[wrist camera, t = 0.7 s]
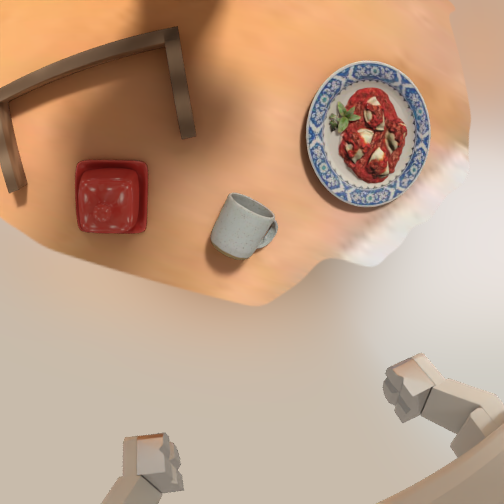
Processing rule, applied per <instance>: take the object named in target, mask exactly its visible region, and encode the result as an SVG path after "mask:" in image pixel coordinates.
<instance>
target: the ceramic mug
mask: <svg viewBox="0 0 504 504" xmlns="http://www.w3.org/2000/svg"><path fill="white" fill-rule="evenodd" d="M270 226H271V227H270ZM269 227H270V229H269ZM268 229H269V231H268ZM277 230H278V225H277V222H276V220H275V215H274V214H273V213H272V212H271V211H270V210H269V209H268V208H267V207H265V206H264V205H262V204H261V203H259V202H258V201H256V200H253V199H252V198H250V197H247V196H245V195H242V194H239V193H230V194H229V195H228V197H227V199H226V202H225V204H224V206H223V208H222V210H221V212H220V214H219V217H218V219H217V221H216V223H215V225H214V227H213V229H212V233H211V238H210V239H211V242H212V244H213V246H214V247H215V248H216V249H217V250H218V251H219V252H221V253H222V254H224V255H226V256H228V257H230V258H233V259H236V260H245V259H248V258H249V257H250V256H251V255H252V254H253V253H254V252H255V250H256V249H258V248H262V247H264V246H266V245H267V244H269V243H270V242H271V241H272V239H273V238H274V237H275V235H276V233H277ZM267 231H268V232H267ZM266 232H267V234H266ZM265 234H266V235H265ZM264 235H265V236H264ZM263 237H264V238H263ZM262 238H263V239H262Z"/></svg>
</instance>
